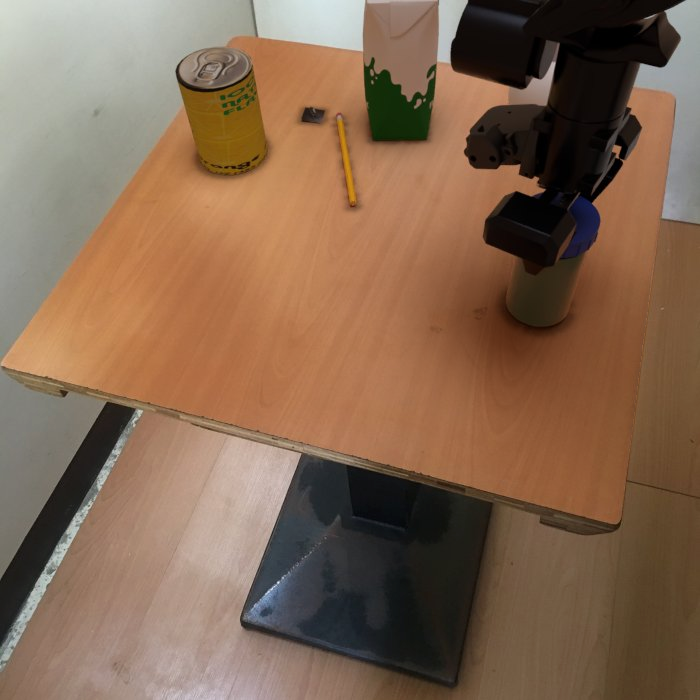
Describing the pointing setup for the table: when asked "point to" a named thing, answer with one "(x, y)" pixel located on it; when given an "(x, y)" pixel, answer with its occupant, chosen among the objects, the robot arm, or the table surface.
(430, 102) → the soya milk
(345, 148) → the pencil
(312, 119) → the dark square tile
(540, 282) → the jar
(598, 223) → the lid
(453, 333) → the table surface
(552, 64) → the ornament
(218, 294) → the table surface
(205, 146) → the beverage can
